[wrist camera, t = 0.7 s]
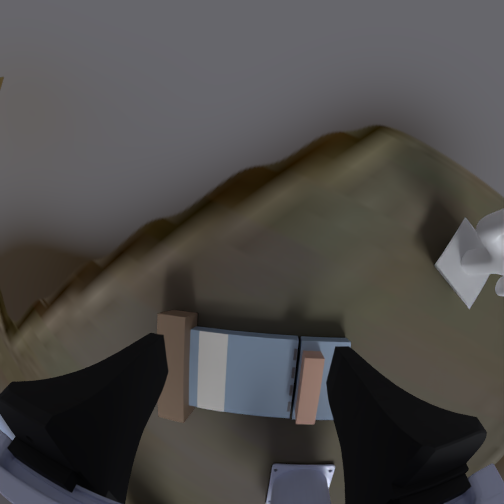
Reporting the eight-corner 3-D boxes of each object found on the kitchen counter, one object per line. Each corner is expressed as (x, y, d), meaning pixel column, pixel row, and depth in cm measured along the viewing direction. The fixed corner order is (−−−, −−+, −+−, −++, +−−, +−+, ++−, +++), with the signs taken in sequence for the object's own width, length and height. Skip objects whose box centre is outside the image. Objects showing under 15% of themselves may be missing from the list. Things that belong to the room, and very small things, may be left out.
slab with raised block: (334, 411, 26) (342, 432, 21) (291, 410, 27) (292, 431, 22) (346, 337, 27) (358, 348, 22) (300, 336, 28) (303, 347, 23)
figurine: (457, 312, 26) (542, 325, 11) (414, 259, 27) (500, 242, 12) (483, 269, 26) (565, 259, 11) (444, 216, 27) (524, 178, 12)
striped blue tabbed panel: (287, 420, 27) (287, 437, 23) (171, 403, 29) (158, 416, 25) (298, 322, 28) (301, 328, 24) (172, 309, 30) (157, 313, 26)
